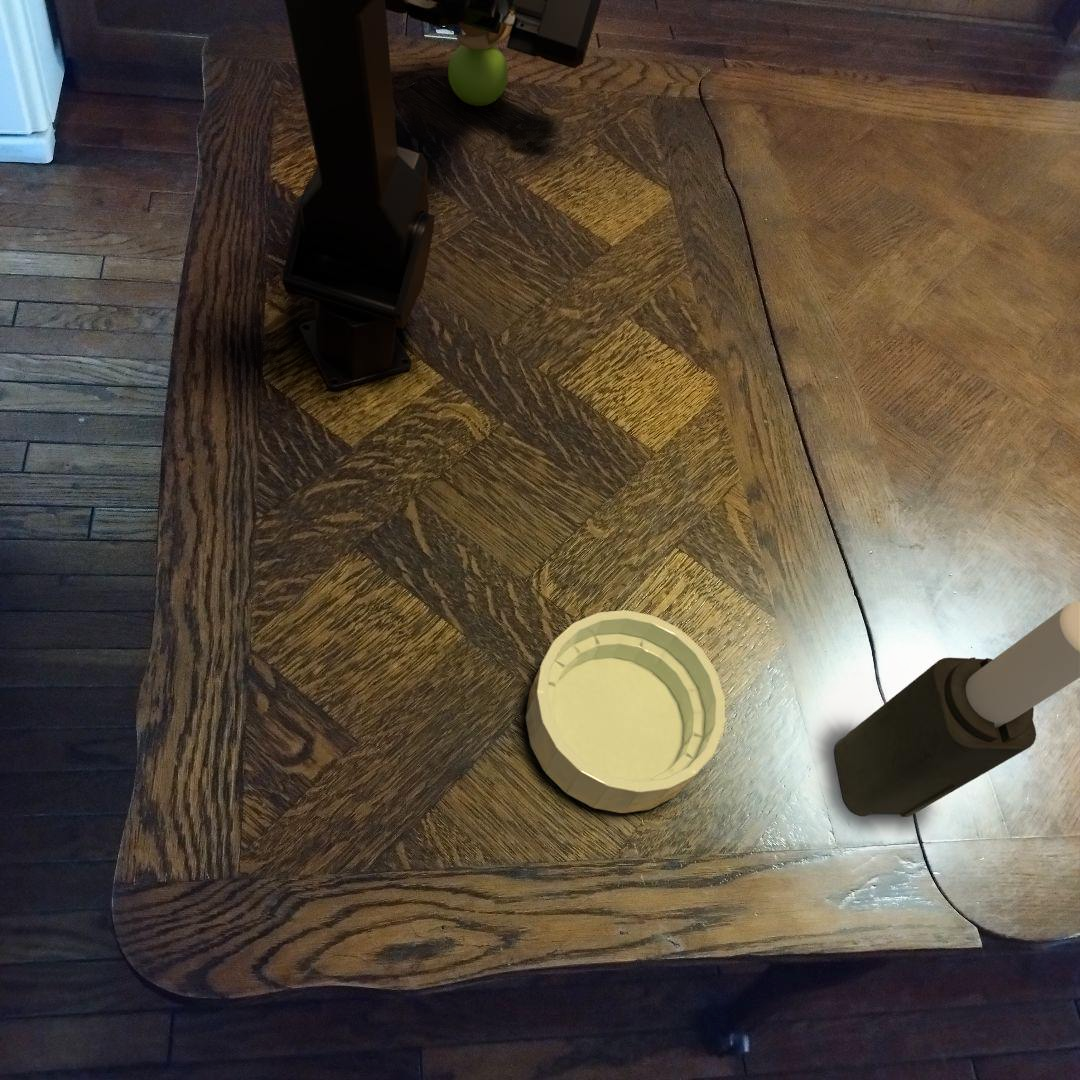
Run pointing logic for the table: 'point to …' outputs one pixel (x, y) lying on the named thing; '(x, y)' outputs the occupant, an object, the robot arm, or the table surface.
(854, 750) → the candle
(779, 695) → the table surface
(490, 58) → the snail figurine
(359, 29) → the robot arm
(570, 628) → the bowl
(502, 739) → the table surface
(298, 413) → the table surface
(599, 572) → the table surface
